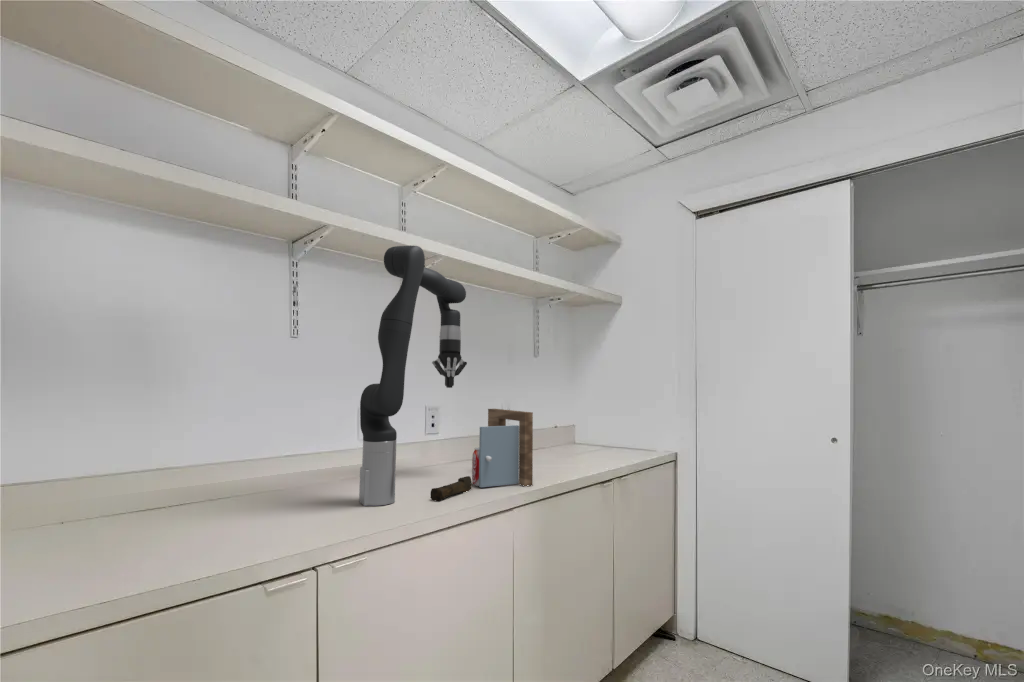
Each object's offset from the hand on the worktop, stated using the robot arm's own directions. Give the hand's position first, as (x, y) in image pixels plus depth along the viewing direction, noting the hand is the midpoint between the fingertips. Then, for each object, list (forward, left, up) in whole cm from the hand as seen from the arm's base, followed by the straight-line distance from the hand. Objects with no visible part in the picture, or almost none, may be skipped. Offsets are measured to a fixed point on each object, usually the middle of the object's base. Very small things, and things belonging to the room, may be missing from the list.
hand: (449, 387), depth 176 cm
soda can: (+6, -14, -32) cm, 36 cm away
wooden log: (-8, -23, -32) cm, 40 cm away
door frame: (+19, -9, -32) cm, 38 cm away
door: (+10, -20, -31) cm, 39 cm away
